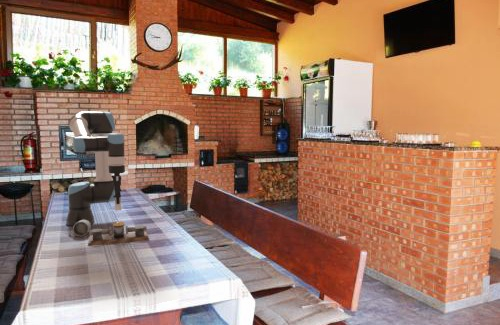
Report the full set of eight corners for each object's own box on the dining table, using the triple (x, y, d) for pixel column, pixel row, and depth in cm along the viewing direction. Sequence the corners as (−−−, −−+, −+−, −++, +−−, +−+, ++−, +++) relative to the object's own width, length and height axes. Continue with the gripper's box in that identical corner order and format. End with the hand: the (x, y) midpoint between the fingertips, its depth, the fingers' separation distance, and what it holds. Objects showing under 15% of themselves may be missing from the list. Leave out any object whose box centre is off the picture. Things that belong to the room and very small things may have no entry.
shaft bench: (88, 245, 186) (87, 232, 185) (89, 239, 196) (88, 226, 195) (148, 240, 195) (148, 227, 194) (146, 234, 205) (146, 221, 205)
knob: (110, 237, 194) (110, 223, 193) (118, 234, 199) (118, 221, 198) (119, 238, 192) (118, 224, 191) (127, 235, 197) (126, 222, 196)
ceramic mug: (92, 231, 209) (91, 217, 208) (88, 236, 201) (87, 221, 200) (70, 233, 207) (70, 218, 206) (66, 237, 199) (65, 222, 198)
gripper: (125, 167, 181) (126, 212, 184) (123, 161, 205) (124, 201, 207) (108, 168, 179) (109, 213, 181) (108, 162, 202) (109, 202, 205)
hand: (117, 207), depth 194 cm, fingers open, 13 cm apart
